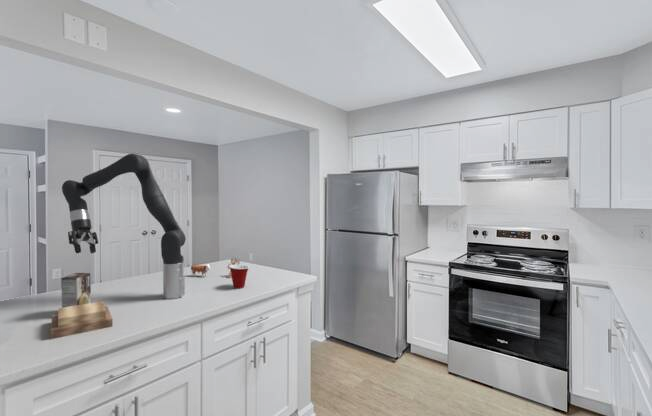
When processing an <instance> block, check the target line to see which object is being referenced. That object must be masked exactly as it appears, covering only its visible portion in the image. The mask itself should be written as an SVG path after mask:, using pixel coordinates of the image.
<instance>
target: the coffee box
mask: <svg viewBox="0 0 652 416" xmlns="http://www.w3.org/2000/svg"><path fill="white" fill-rule="evenodd" d="M60 279H61V286H60V287H61V308H63V307H70V306H76V305H82V304H88V303H92V294H91V293H92V292H91V273H90V272H75V273H72V274H70V275H67V276H63V277H62V278H60Z"/></svg>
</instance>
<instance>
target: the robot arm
mask: <svg viewBox="0 0 652 416" xmlns="http://www.w3.org/2000/svg"><path fill="white" fill-rule="evenodd" d="M128 173H133V174H134V175H135V176H136V177H137V179H138V182H139V183H140V187H141V196H142V197H141V198H142V200H143V203H144V204H145V206H146V209H147V211H148V212H149V214H150V215H151V216H152V217H153V218H154V219H155V220H156V221H157V222H158V223H159V224H160V226H161V228H162V229H163V232H164V233H163V235H162V237H161V239H160V240H161V241H160V250H161V252H160V253H161V258H162V262H163V263H162V275H163V276H162V278H163V279H162V285H163V286H162V290H163V291H162V297H163V299H167V300H172V299H179V298H182V297H183V296H184V295H185V294H186V293H185V290H186V288H185V287H186V285H185V284H186V283H185V282H186V281H185V278H186V277H185V275H184V256H183V255H182V252H181V248H182V247H183V246H184V245H185V243H186V235H185V233H184V231H183V229H182V228H181V227H180V225H179V224H178V222H177V220H176V218H175V217H174V214H173V212H172V210H171V208H170V206H169V204H168V202H167V199H166V198H165V196H164V194H163V192H162V191H161V188H160V186H159V184H158V183H157V181H156V179H155V176H154V174H153V171H152V168H151V165H150V163H149V161H148V159H147V158H146V157H144V156H142V155H141V154H137V153H128V154H127V155H124V156H122V157H121V158H119V159H118V160H116V161H115V162H113V163H111V164H110V165H107V166H105V167H103V168H102V169H99V170H97V171H94V172H92V173H89V174H87V175H85V176H84V177H82V179H81V180H82V182H79V181H76V180H70V179H68V180H66V181H64V182H63V184H62V186H61V190H62V195H63V196H64V198H65V199H64V200H65V201H66V202H67V205H68V208H69V219H70V225H71V231H68V232H67V234H68V235H67V237H68V244H69V245H72V246H73V247H74V252H75V254H80V253H82V247H81V242H85V243H86V244H88V245H89V252H90V254H94V253H97V249H96V245H97V244H99V239H98V235H97V232H96V231H94V232H92V231H91V230H92V228H93V227H92V222H91V217H90V212H89V208H88V203H87V201H86V200H85V199H84V198H82V197H84V196H86V195H89V194H90V193H91V192H92V191H93V190H95V189H97V188H100V187H102V186H104V185H106V184H108V183H110V182H111V181H113V179H115V178H117V177H119V176H121V175H124V174H128Z"/></svg>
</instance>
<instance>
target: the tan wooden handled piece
mask: <svg viewBox="0 0 652 416" xmlns="http://www.w3.org/2000/svg"><path fill="white" fill-rule="evenodd" d="M231 265H240V259H237V258H236V257H231V259H230V263H229V264H228V265H227V269H228V270H229V272H228V275H225V278H227V279H232V275H231V270H230V267H229V266H231Z"/></svg>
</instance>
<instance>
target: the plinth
mask: <svg viewBox="0 0 652 416" xmlns="http://www.w3.org/2000/svg"><path fill="white" fill-rule="evenodd" d="M111 327H113V316H112V314H111V311H110V308H109V306H108V305H104V303H103V301H94V302H91V303H88V304H82V305H76V306H70V307H63V308H62V307H59V308H58V313H57V314H53V315H51V326H50V339H51V340H53V339H58V338H62V337H68V336H72V335H77V334H82V333H86V332H91V331H97V330H102V329H106V328H111Z"/></svg>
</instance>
